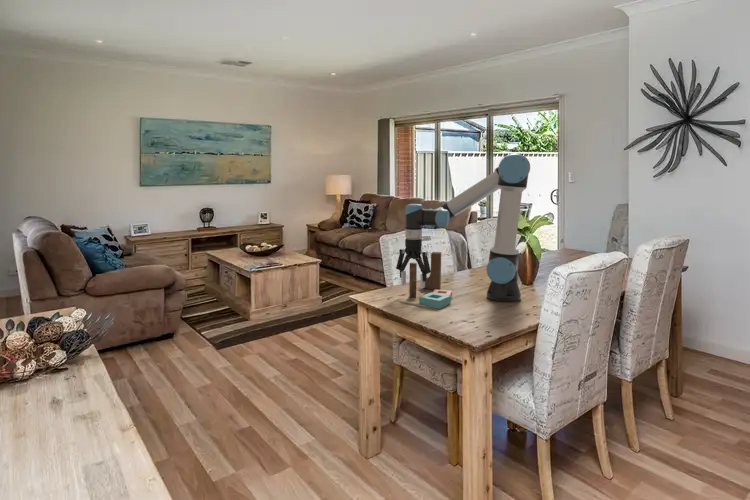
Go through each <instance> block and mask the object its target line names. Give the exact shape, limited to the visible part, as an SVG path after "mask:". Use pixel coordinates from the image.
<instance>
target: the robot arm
mask: <svg viewBox="0 0 750 500" xmlns="http://www.w3.org/2000/svg"><path fill="white" fill-rule="evenodd" d="M493 171H494V172H492V173H491V174H489V175H487V176H485V177H484V178H482V179H481V180H480V181H478V182H477V183H475V184H473V185H472V186H470V187H469V188H467V189H466V190H464V191H462V192H461V193H459V194H458V195H456V196H455V197H453V198H451V199H449V200H448V201H447V202H445V203H444V204H442V205H441V206H439V207H435V208H424V207H423V204H421V203H409V204H407V205H406V206H405V214H404V215H405V216H404V217H405V218H404V219H405V220H404V221H405V222H404V223H405V224H404V225H405V227H404V229H405V231H404V232H405V234H404V235H405V236H404V237H405V239H404V246H405V248H400V249H399V255H398V259H397V263H396V266H395V267H396V270H398V271H399V277H400V281H401V282H400V285H401V286H405V285H407V284H406V283H407V280H406V279H407V278H406V277H407V276H406V275H407V271H406V267H407V266H408V264H409V262H410V259H412V260H414V261H416V263H417V266H418V267H419V269H420V271H421V274H420V285H419V286H420V289H423V288H425V281H426V280H427V277H428V276H427V275H428V274H430V273H431V265H430V262H429V261H430V260H429V258H428V253H429V252H428V251H427V250H425V251H424V250H422V245H423V244H422V243H423V239H422V237H423V226H425V227H428V226H429V227H439V228H441V227H448V225H449V224H450V220H452V219H453V218H455V217H456V216H457V215H459V214H462V213H463V212H465V211H466V210H467V209H469V208H471V207H472V206H474V205H476V204H478V203H479V202H481V201H482V200H484V199H485V198H487V197H489V196H490V195H492V194H494V193H495V192H497V191H498V190H500V194H499V202H498V203H499V204H498V212H497V219H496V229H495V237H494V244H493V246H492V247H491V248H490V249H489V255H488V256H489V257H488V263H487V265H486V268H485V269H486V274H487V277H488V278H489V279H490V283H489V284H488V287H487V291H486V298H487V299H488V300H491V301H496V302H501V303H502V302H503V303H508V302H509V303H510V302H512V303H513V302H517V301H521V297H522V295H521V290H520V287H519V283H518V279H519V278H518V276H519V257H520V252H519V249H517V248H516V243H517V234H518V227H519V219H520V211H521V202H522V195H523V192H524V191H525V190H526V189H528V188H527V186H528V179H529V174H530V172H531V164H530V161H529V159H528V158H527V157H526V156H524V155H523V154H520V153H517V152H516V153H508V154H507V155H505V156H504V157H502V159H501V160H500V162H499V164H498V166H497V167H496V168H494V170H493ZM405 254H406V255H405Z"/></svg>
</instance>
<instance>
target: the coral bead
mask: <svg viewBox="0 0 750 500" xmlns="http://www.w3.org/2000/svg"><path fill="white" fill-rule="evenodd" d="M433 290H434V291H433V292H432V293H437V294H443V295H449V296H451V299H452V298H453V290H448V289H447V290H445V289H439V290H437V289H433Z"/></svg>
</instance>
